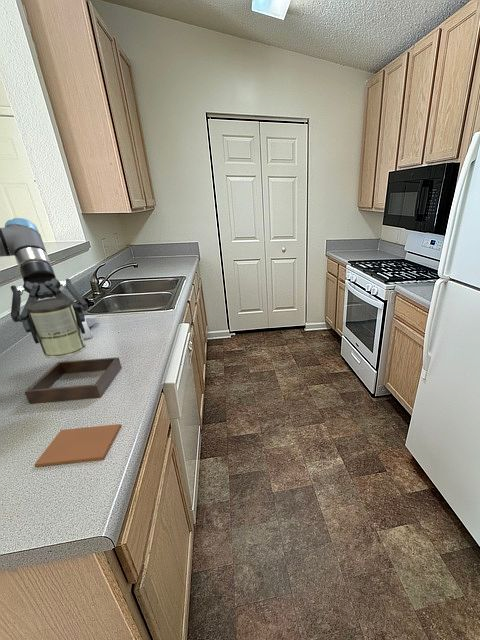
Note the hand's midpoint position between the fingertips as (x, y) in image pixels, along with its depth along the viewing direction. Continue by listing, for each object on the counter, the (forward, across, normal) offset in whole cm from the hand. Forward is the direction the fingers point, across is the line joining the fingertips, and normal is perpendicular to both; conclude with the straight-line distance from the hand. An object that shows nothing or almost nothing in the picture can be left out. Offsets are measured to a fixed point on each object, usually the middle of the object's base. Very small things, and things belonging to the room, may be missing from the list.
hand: (60, 336), depth 90 cm
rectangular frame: (+8, -1, -19) cm, 20 cm away
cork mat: (+32, +3, +5) cm, 32 cm away
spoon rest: (-29, -10, -56) cm, 64 cm away
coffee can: (+2, 0, -6) cm, 6 cm away
